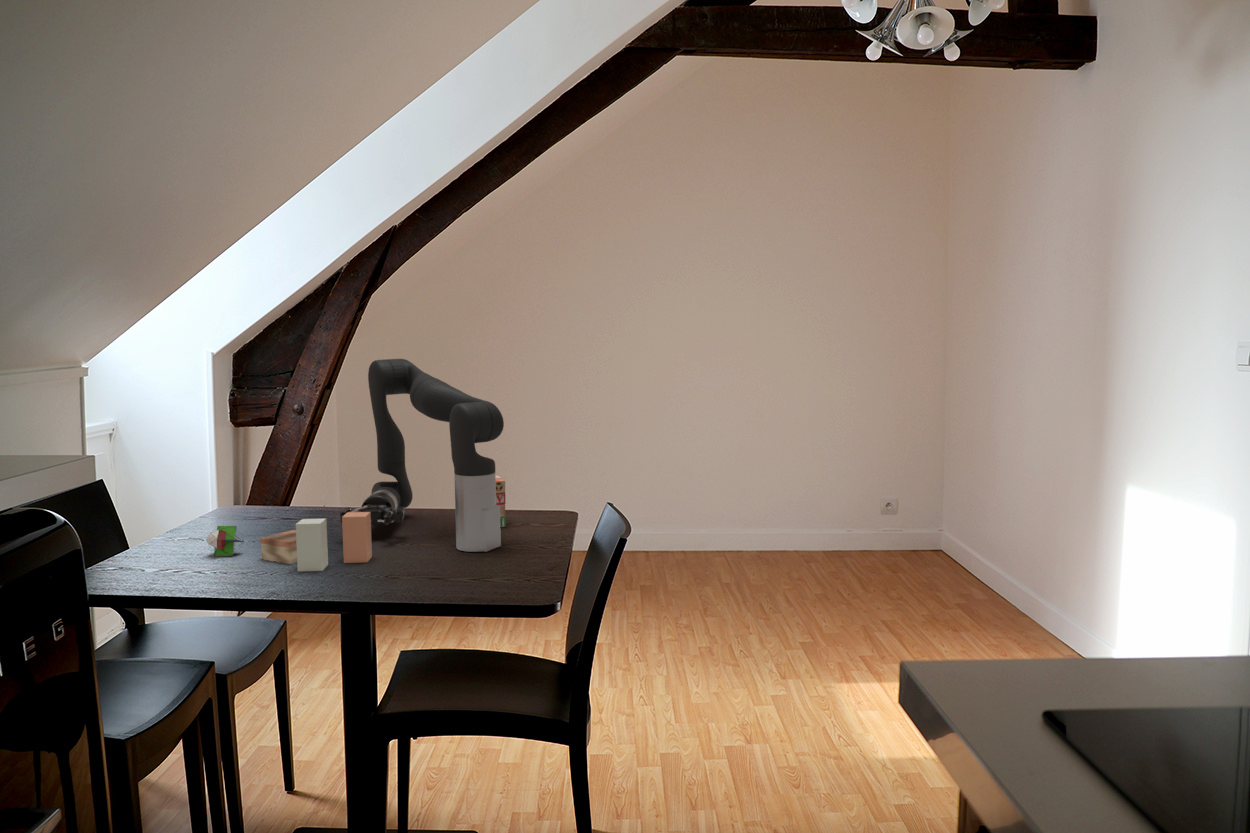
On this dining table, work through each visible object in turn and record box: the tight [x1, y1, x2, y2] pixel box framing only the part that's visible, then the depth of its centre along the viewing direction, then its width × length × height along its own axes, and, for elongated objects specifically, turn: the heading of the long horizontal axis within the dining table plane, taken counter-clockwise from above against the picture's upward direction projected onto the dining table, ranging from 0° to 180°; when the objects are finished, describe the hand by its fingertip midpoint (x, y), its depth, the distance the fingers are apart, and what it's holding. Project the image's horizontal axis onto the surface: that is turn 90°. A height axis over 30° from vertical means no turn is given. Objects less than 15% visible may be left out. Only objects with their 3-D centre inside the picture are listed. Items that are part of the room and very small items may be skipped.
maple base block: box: [259, 529, 297, 565], centre depth 201 cm, size 9×9×5 cm
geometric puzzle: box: [205, 525, 245, 557], centre depth 204 cm, size 7×7×8 cm
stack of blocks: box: [496, 475, 507, 528], centre depth 238 cm, size 21×6×12 cm, turn 23°
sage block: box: [295, 518, 329, 572], centre depth 192 cm, size 5×5×10 cm
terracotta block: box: [341, 512, 373, 564], centre depth 198 cm, size 5×5×10 cm
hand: (366, 521), depth 209 cm, fingers open, 8 cm apart
